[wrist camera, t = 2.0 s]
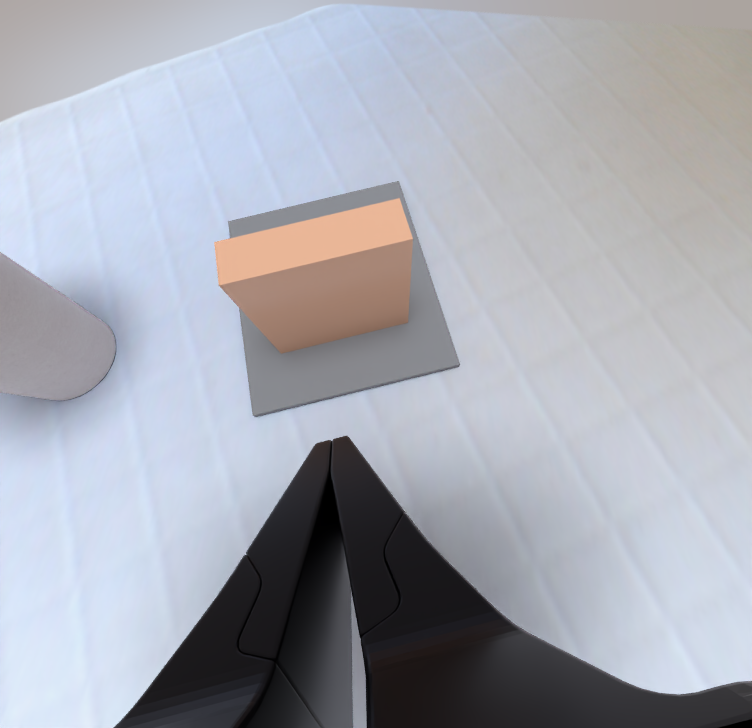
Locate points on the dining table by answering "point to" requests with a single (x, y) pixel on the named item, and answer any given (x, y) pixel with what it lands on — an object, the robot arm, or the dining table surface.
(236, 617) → the robot arm
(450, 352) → the mat
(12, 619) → the dining table surface
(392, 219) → the tile
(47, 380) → the coffee cup
